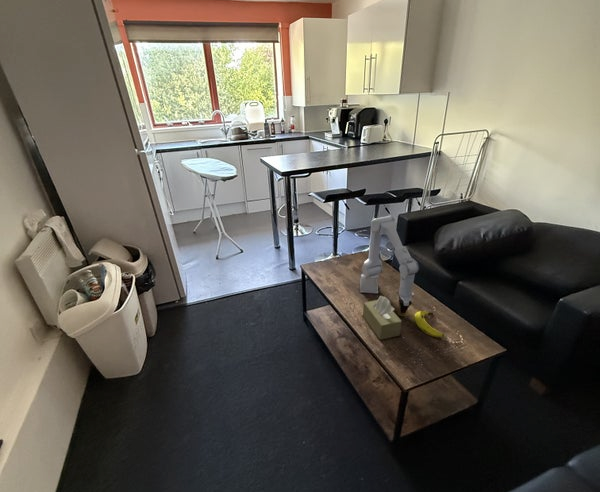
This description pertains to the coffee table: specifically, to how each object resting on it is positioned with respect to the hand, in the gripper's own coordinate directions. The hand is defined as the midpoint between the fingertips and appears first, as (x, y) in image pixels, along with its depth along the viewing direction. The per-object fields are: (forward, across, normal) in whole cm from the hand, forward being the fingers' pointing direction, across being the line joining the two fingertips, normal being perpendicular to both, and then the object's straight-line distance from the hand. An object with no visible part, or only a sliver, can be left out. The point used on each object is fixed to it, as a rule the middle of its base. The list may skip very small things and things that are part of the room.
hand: (402, 309), depth 152 cm
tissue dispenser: (+4, -9, +10) cm, 14 cm away
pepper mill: (+2, 0, 0) cm, 2 cm away
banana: (+4, -6, -12) cm, 14 cm away
